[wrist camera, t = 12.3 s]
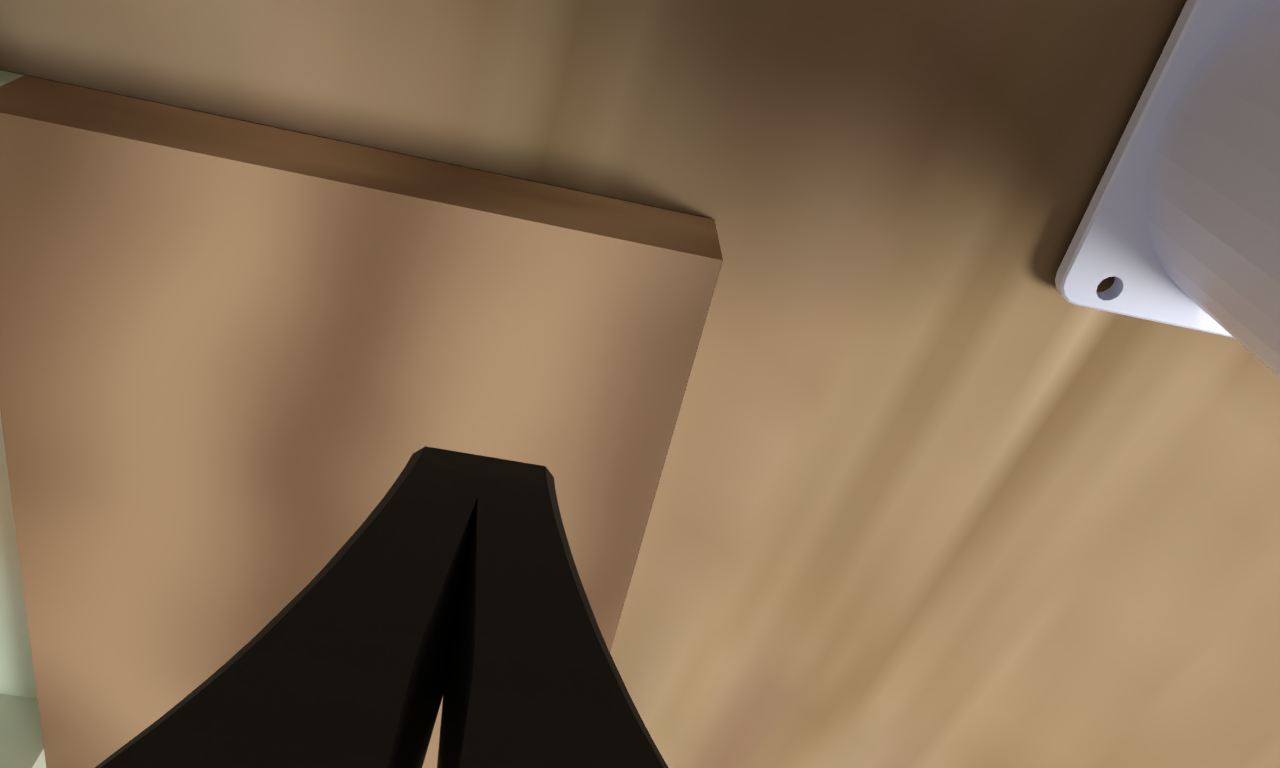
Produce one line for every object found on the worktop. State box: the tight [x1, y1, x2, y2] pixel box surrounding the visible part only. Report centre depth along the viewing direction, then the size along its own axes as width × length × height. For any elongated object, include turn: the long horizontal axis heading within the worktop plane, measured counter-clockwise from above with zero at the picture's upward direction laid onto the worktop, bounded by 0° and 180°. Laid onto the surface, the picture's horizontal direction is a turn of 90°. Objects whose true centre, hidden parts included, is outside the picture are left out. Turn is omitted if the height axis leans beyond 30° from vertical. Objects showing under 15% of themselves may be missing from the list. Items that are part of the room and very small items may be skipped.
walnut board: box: [0, 75, 723, 768], centre depth 22 cm, size 13×17×2 cm
